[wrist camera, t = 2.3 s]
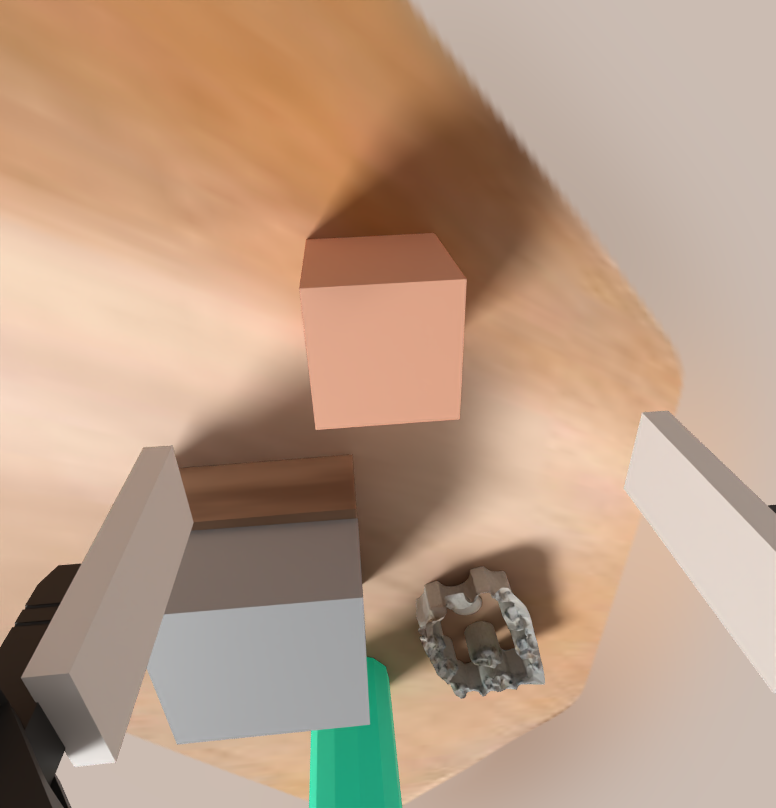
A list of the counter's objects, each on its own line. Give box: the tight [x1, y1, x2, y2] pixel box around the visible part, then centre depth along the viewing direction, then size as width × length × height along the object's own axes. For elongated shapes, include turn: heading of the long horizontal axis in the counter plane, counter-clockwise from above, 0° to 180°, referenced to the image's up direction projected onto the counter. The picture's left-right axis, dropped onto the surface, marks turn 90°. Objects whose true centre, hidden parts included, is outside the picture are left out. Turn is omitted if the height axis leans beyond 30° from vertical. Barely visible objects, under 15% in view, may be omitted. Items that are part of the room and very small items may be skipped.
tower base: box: [179, 455, 366, 642], centre depth 32 cm, size 11×11×5 cm
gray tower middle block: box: [147, 518, 370, 744], centre depth 28 cm, size 10×10×5 cm
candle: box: [309, 657, 402, 808], centre depth 37 cm, size 6×6×12 cm
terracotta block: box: [299, 233, 467, 430], centre depth 24 cm, size 6×6×7 cm
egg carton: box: [416, 566, 545, 699], centre depth 39 cm, size 11×8×4 cm
